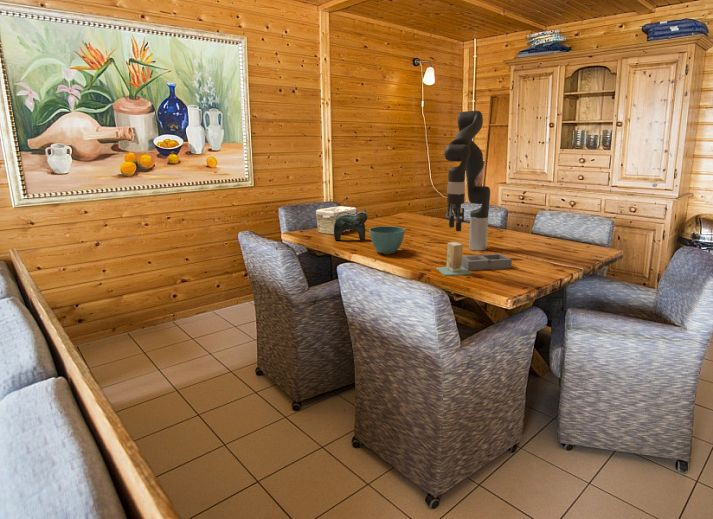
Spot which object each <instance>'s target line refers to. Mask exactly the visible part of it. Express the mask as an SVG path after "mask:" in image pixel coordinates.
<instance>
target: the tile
mask: <svg viewBox="0 0 713 519" xmlns="http://www.w3.org/2000/svg"><path fill="white" fill-rule="evenodd" d="M435 269H436V270H437V271H438V270H439V271H438V272H440V273H441V274H442V275H443V276H445V277H447V276H465V275H472V272H471V271H470V270H467V269H465V268H464V267H462V266H461V271H459V272H452V271H450V270H448V269H446V266H438V267H436V268H435Z"/></svg>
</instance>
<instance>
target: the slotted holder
mask: <svg viewBox="0 0 713 519" xmlns="http://www.w3.org/2000/svg"><path fill="white" fill-rule="evenodd" d="M512 261H513V260H512V258H510V257H509V256H508V257H507V256H506V255H505V254H502V253H490V254H469V255H466V254H465V255H462V263H461V266H462V267H463V268H465V269H466V270H468V271H482V270H483V271H484V270H498V269H511V268H512V263H513V262H512Z"/></svg>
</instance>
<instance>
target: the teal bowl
mask: <svg viewBox="0 0 713 519" xmlns="http://www.w3.org/2000/svg"><path fill="white" fill-rule="evenodd" d="M369 236H370V237H369V238H370V239H371V240H370V241H371V243H372V245H373V247H374V248H375V250H376V251H377V252H378V253H379V254H381V253H384V254H383V255H392V254H391V253H393V254H395V253H396V252H397V251H398V249H399V248H400V247H401V245H402V243H403V240H404V237H405V228H403V227H400V226H389V225H388V226H386V225H385V226H383V225H382V226H374V227H371V228H369Z"/></svg>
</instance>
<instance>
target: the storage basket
mask: <svg viewBox="0 0 713 519" xmlns="http://www.w3.org/2000/svg"><path fill="white" fill-rule="evenodd" d="M351 207H352V208H351ZM356 208H357V207H356ZM356 208H355V207H353V206H342V205H339V206H333V207H332V206H331V207H327V208H320V209H316V211H315V216H316V222H317V223H316V224H317V232H318V233H322V234H327V235H334V224H335V222H336V219H337V218H338V217H339V216H341V215H346V214H348V213H350V214H354V215H356V214H355V213H356V211H358V208H357V209H356ZM342 212H347V213H342ZM339 213H342V214H339ZM338 214H339V215H338ZM337 215H338V216H337ZM336 216H337V218H336ZM345 231H348V232H351V231H350V230H345ZM345 231H343V232H342V233H346V232H345Z"/></svg>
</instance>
